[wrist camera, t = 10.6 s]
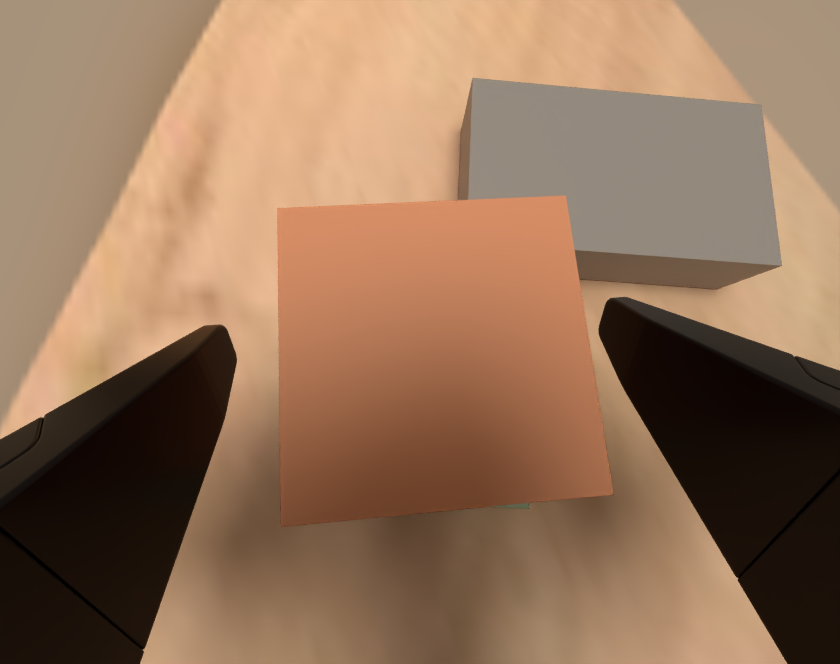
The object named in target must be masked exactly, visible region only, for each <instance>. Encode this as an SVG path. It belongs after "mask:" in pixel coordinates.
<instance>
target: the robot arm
mask: <svg viewBox="0 0 840 664" xmlns="http://www.w3.org/2000/svg"><path fill="white" fill-rule="evenodd" d="M599 336H600V339H601V341H602V343H603V345H604V348H605V350H606V352H607V354H608V356H609V359H610V361H611V363H612V365H613V367H614V370H615V372H616V374H617V376H618V378H619V381H620V383H621V385H622V387H623V388H624V390H625V392H626V394H627V395H628V397H629V399H630V400H631V402H632V404H633V405H634V407H635V409H636V411H637V412H638V414H639V416H640V417H641V419H642V421H643V422H644V424H645V426H646V427H647V429H648V431H649V432H650V434H651V436H652V437H653V439H654V441H655V442H656V444H657V446H658V447H659V449H660V451H661V452H662V454H663V456H664V457H665V459H666V461H667V462H668V464H669V466H670V467H671V469H672V471H673V472H674V474H675V476H676V477H677V479H678V481H679V483H680V484H681V486H682V488H683V489H684V491H685V493H686V494H687V496H688V498H689V499H690V501H691V503H692V504H693V506H694V508H695V509H696V511H697V513H698V514H699V516H700V518H701V519H702V521H703V523H704V524H705V526H706V528H707V529H708V531H709V533H710V534H711V536H712V538H713V539H714V541H715V543H716V544H717V546H718V548H719V549H720V551H721V553H722V554H723V556H724V558H725V560H726V561H727V563H728V565H729V566H730V568H731V570H732V571H733V573H734V575H735V576H736V577H737V578H738V582H739V583H740V585H741V587H742V588H743V590H744V592H745V593H746V595H747V597H748V599H749V600H750V602H751V604H752V605H753V607H754V609H755V610H756V612H757V614H758V615H759V617H760V619H761V620H762V622H763V624H764V625H765V627H766V629H767V630H768V632H769V634H770V635H771V637H772V639H773V640H774V642H775V644H776V645H777V647H778V649H779V650H780V652H781V654H782V656H783V657H784V659H785V661H786V662H787V664H840V371H839V370H836V369H833V368H830V367H827V366H824V365H821V364H818V363H816V362H813V361H810V360H807V359H804V358H801V357H798V356H795V357H794V356H793V355H792V354H789V353H787V352H784V351H781V350H778V349H775V348H772V347H769V346H766V345H763V344H761V343H758V342H755V341H752V340H749V339H746V338H743V337H740V336H738V335H735V334H732V333H729V332H726V331H723V330H720V329H717V328H714V327H712V326H709V325H706V324H703V323H700V322H697V321H694V320H691V319H689V318H686V317H683V316H680V315H677V314H674V313H671V312H668V311H665V310H663V309H660V308H657V307H654V306H651V305H648V304H645V303H642V302H640V301H637V300H634V299H631V298H628V297H618V298H610V299H609V300H607V302H606V304H605V307H604V311H603V314H602V317H601V321H600V324H599ZM236 363H237V357H236V353H235V350H234V347H233V344H232V342H231V339H230V336H229V333H228V331H227V329H226V328H225V326H223V325H206V326H203V327H201V328H199V329H197V330H195V331H194V332H192V333H190V334H188V335H187V336H185V337H183V338H181V339H179V340H178V341H176V342H174V343H172V344H170V345H169V346H167V347H165V348H163V349H162V350H160V351H158V352H156V353H154V354H153V355H151V356H149V357H147V358H145V359H144V360H142V361H140V362H138V363H137V364H135V365H133V366H131V367H129V368H128V369H126V370H124V371H122V372H120V373H119V374H117V375H115V376H113V377H112V378H110V379H108V380H106V381H104V382H103V383H101V384H99V385H97V386H95V387H94V388H92V389H90V390H88V391H87V392H85V393H83V394H81V395H79V396H78V397H76V398H74V399H72V400H70V401H69V402H67V403H65V404H63V405H62V406H60V407H58V408H56V409H54V410H53V411H51V412H49V413H47V414H46V415H45V416H44V418H42V417H41V418H38V419H36V420H35V421H33V422H31V423H29V424H27V425H26V426H24V427H22V428H20V429H18V430H17V431H15V432H13V433H11V434H9V435H7V436H6V437H4V438H2V439H0V664H140V662H141V659H142V656H143V653H144V651H143V649H144V648H145V647H146V644H147V641H148V638H149V635H150V632H151V629H152V626H153V624H154V621H155V618H156V615H157V612H158V609H159V606H160V603H161V601H162V598H163V595H164V592H165V589H166V586H167V583H168V581H169V578H170V575H171V572H172V569H173V566H174V563H175V560H176V558H177V555H178V552H179V549H180V546H181V543H182V540H183V537H184V535H185V532H186V529H187V526H188V523H189V520H190V517H191V515H192V512H193V509H194V506H195V503H196V500H197V497H198V494H199V492H200V489H201V486H202V483H203V480H204V477H205V474H206V471H207V469H208V466H209V463H210V460H211V457H212V454H213V451H214V449H215V446H216V443H217V440H218V437H219V434H220V431H221V428H222V425H223V422H224V419H225V415H226V411H227V406H228V401H229V397H230V392H231V387H232V383H233V378H234V373H235V368H236Z"/></svg>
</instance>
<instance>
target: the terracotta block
mask: <svg viewBox="0 0 840 664" xmlns="http://www.w3.org/2000/svg"><path fill="white" fill-rule="evenodd" d="M277 221H278V318H279V415H280V512H281V527H285V526H295V525H306V524H316V523H326V522H337V521H347V520H357V519H367V518H378V517H388V516H398V515H409V514H419V513H429V512H440V511H450V510H460V509H470V508H481V507H491V506H501V505H512V504H522V503H532V502H542V501H553V500H563V499H573V498H584V497H594V496H604V495H614V494H613V487H612V481H611V475H610V469H609V462H608V456H607V450H606V444H605V437H604V431H603V425H602V419H601V412H600V406H599V400H598V394H597V387H596V381H595V375H594V368H593V362H592V356H591V350H590V343H589V337H588V331H587V325H586V318H585V312H584V306H583V300H582V293H581V287H580V281H579V275H578V268H577V262H576V256H575V250H574V243H573V237H572V231H571V224H570V218H569V212H568V206H567V199H566V195H565V196H542V197H520V198H497V199H475V200H453V201H430V202H408V203H385V204H363V205H341V206H318V207H296V208H277Z"/></svg>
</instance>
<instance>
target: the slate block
mask: <svg viewBox="0 0 840 664" xmlns="http://www.w3.org/2000/svg"><path fill="white" fill-rule="evenodd" d="M565 195H566V199H567V206H568V212H569V218H570V224H571V231H572V237H573V243H574V250H575V256H576V262H577V268H578V275H579V279H584V280H598V281H612V282H626V283H639V284H653V285H667V286H681V287H695V288H708V289H719V288H722V287H725V286H728V285H730V284H733V283H736V282H739V281H741V280H744V279H747V278H750V277H752V276H755V275H758V274H761V273H763V272H766V271H769V270H772V269H774V268H777V267H780V266H782V262H781V254H780V246H779V238H778V231H777V223H776V215H775V207H774V199H773V191H772V184H771V176H770V168H769V160H768V152H767V144H766V137H765V129H764V121H763V113H762V105H759V104H748V103H737V102H727V101H716V100H705V99H694V98H684V97H673V96H662V95H651V94H640V93H630V92H619V91H608V90H597V89H586V88H576V87H565V86H554V85H543V84H532V83H522V82H511V81H500V80H489V79H479V78H473V79H472V83H471V88H470V92H469V97H468V101H467V106H466V110H465V115H464V119H463V124H462V128H461V142H460V166H459V189H458V200H475V199H497V198H520V197H542V196H565Z"/></svg>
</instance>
